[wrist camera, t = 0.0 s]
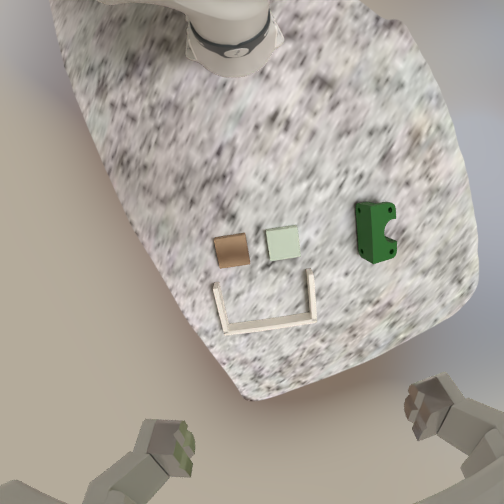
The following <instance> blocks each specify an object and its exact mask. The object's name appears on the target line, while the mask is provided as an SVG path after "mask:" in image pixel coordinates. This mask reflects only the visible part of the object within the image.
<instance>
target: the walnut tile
mask: <svg viewBox="0 0 504 504" xmlns="http://www.w3.org/2000/svg"><path fill="white" fill-rule="evenodd" d="M214 244H215V248H216V253H217V258H218V262H219V267H220V269H221V268H228V267H234V266H241V265H248V264H250V258H249V252H248V247H247V241H246V235H245V233H239V234H233V235H227V236H221V237H215V238H214Z"/></svg>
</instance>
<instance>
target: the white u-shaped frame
mask: <svg viewBox="0 0 504 504" xmlns="http://www.w3.org/2000/svg"><path fill="white" fill-rule="evenodd" d="M306 274H307V285H308V297H309V310H310V312H307V313H301V314H295V315H289V316H282V317H276V318H269V319H262V320H254V321H247V322H239V323H231V324H229V321H228V317H227V313H226V308H225V304H224V300H223V296H222V291H221V287H220V283H219V282H215V283H214V287H213V292H214V296H215V300H216V304H217V308H218V312H219V316H220V320H221V324H222V327H223V331H224V335H234V334H242V333H250V332H258V331H265V330H273V329H279V328H286V327H292V326H299V325H305V324H311V323H316V322H317V315H316V299H315V285H314V274H313V272H312V270H311V268H309V269H306Z"/></svg>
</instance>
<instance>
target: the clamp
mask: <svg viewBox="0 0 504 504" xmlns="http://www.w3.org/2000/svg"><path fill="white" fill-rule="evenodd" d="M391 219H396V208H395V205H394V204H393V203H390V202H382V203H376V204H374V203H370V202H362V203H357V204H356V221H357V234H358V250H359V254H360V256H361V257H362V258H363V259H365V260H367V261H369V262H370V263H372V264H375V263H379V262H382V261H385V260H389V259H392V258H394V257H395V255H396V253H397V241H395V240H393V239H391V238H388V237H386V236H384V229H385V226H386V224H387V223H388V222H389V221H390V220H391Z"/></svg>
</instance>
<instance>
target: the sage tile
mask: <svg viewBox="0 0 504 504" xmlns="http://www.w3.org/2000/svg"><path fill="white" fill-rule="evenodd" d="M266 235H267V242H268V249H269V256H270V261H275V260H281V259H288V258H294V257H301V254H300V245H299V236H298V227H297V225H292V226H285V227H278V228H272V229H266Z"/></svg>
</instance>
